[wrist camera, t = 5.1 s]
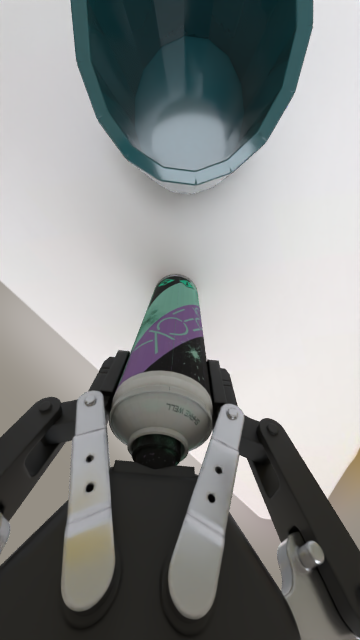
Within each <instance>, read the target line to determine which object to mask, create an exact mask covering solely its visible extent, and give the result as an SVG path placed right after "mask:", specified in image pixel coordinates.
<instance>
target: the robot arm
mask: <svg viewBox="0 0 360 640" xmlns="http://www.w3.org/2000/svg"><path fill="white" fill-rule="evenodd" d="M129 355H130V351H122V350H119V351H118V352H117V354H116V356H115V357H109V358H108V359H107V360H105V361H104V363H103V365H102V367H101V368H100V370H99V373H98V374H97V376H96V378H95V380H94V382H93V383H92V385H91V387H90V389H89V391H88V392H86V393H84V394H82V395H81V396H80V397H79V398H78V399H77V400H74V401H68V402H63V403H61V402H60V400H59V399H57V398H55V397H48V398H44V399H42V400H40V401H38V402H37V403H35V404H34V405H33V406H32V407H31V408H30V409H29V410H28V411H27V412H26V413H25V414H24V415H23V416H22V417H21V418H20V419H19V420H18V421H17V422H16V423H15V424H14V425H13V426H12V427H11V428H10V429H9V430H8V431H7V432H6V433H5V434H3V436H2V437H0V553H1V551H2V549H3V548H4V546H5V544H6V542H7V540H8V538H9V534H10V524H9V520H10V519H11V518H12V516H13V515H14V514H15V512H16V511H17V509H18V508H19V507H20V505H21V504H22V502H23V501H24V500H25V498H26V497H27V495H28V494H29V493H30V491H31V490H32V488H33V487H34V486H35V484H36V483H37V481H38V480H39V479H40V477H41V476H42V475H43V473H44V472H45V470H46V469H47V467H48V466H49V465H50V463H51V462H52V461H53V459H54V458H55V456H56V455H57V454H58V452H59V451H60V449H61V448H62V447H63V445H64V444H65V442H66V441H71V440H72V454H71V468H70V484H69V499H68V501H66V503H64V504H63V506H61V507H60V508H59V509H58V510H57V511H56V512H55V513H54V514H53V515H52V516H51V517H50V518H49V519H48V520H47V521H46V522H45V523H44V524H43V525H42V526H41V527H40V528H39V529H38V530H37V531H36V532H35V533H33V534H32V535H31V537H29V538H28V539H27V540H26V541H25V542H24V543H23V544H22V545H21V546H20V547H19V548H18V549H17V550H16V551H15V552H14V553H13V554H12V555H11V556H10V557H9V558H8V559H7V560H6V561H5V562H4V563H3V564H1V566H0V640H360V551H359V549H358V548H357V546H356V545H355V543H354V541H353V539H352V538H351V536H350V535H349V533H348V531H347V530H346V528H345V527H344V525H343V523H342V522H341V520H340V519H339V517H338V515H337V514H336V512H335V510H334V509H333V507H332V506H331V504H330V502H329V501H328V499H327V498H326V496H325V494H324V493H323V491H322V490H321V488H320V486H319V485H318V483H317V482H316V480H315V478H314V477H313V475H312V474H311V472H310V470H309V469H308V467H307V465H306V464H305V462H304V461H303V459H302V457H301V456H300V454H299V453H298V451H297V449H296V448H295V446H294V445H293V443H292V441H291V440H290V438H289V437H288V435H287V433H286V432H285V430H284V429H283V427H282V426H281V425H280V424H279V423H278V422H276V421H275V420H272V419H269V418H265V419H262V420H261V421H260V422H259V421H256V420H254V419H251V418H249V417H247V416H245V415H244V413H243V412H242V410H241V409H240V408H239V407H238V405H237V402H236V398H235V394H234V390H233V387H232V382H231V378H230V374H229V373H228V372H227V370H226V369H222V368H220V365H219V361H216V360H207V368H208V376H209V383H210V391H211V399H212V406H213V415H212V426H213V428H212V431H213V433H212V436H211V439H210V442H209V445H208V448H207V451H206V454H205V458H204V461H203V464H202V467H201V470H200V473H199V475H196V474H195V472H194V467H187V466H176V465H175V466H170V467H165V468H161V469H151V468H149V467H146V466H144V465H141V464H139V463H137V462H131V461H119V460H115V464H114V467H110V459H109V448H108V435H107V423H108V420H109V415H110V411H111V409H112V401H113V397H114V395H115V392H116V389H117V387H118V384H119V382H120V379H121V376H122V374H123V371H124V369H125V366H126V363H127V361H128V358H129ZM239 455H241V456H243V457H246V458H247V460H248V462H249V465H250V467H251V470H252V472H253V475H254V477H255V480H256V482H257V484H258V487H259V489H260V492H261V494H262V497H263V499H264V502H265V504H266V507H267V509H268V511H269V514H270V516H271V519H272V521H273V524H274V526H275V529H276V531H277V533H278V536H279V538H280V541H281V544H280V545H279V547H278V551H277V559H278V564H279V568H280V571H281V576H282V590H280V589H279V587H278V586H277V584H276V583H275V581H274V580H273V578H272V577H271V575H270V574H269V572H268V571H267V569H266V567H265V566H264V565H263V563H262V561H261V560H260V558H259V557H258V555H257V554H256V552H255V551H254V549H253V548H252V546H251V545H250V543H249V541H248V540H247V539H246V537H245V535H244V534H243V532H242V531H241V529H240V528H239V526H238V525H237V523H236V522H235V520H234V519H233V517H232V515H231V514H230V512H229V509H230V504H231V498H232V493H233V487H234V482H235V476H236V471H237V466H238V460H239Z"/></svg>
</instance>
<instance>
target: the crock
mask: <svg viewBox="0 0 360 640" xmlns="http://www.w3.org/2000/svg"><path fill="white" fill-rule="evenodd" d="M71 11H72V21H73V32H74V42H75V53H76V61H77V65H78V68H79V71H80V74H81V76H82V79H83V82H84V85H85V87H86V90H87V93H88V96H89V99H90V101H91V104H92V107H93V110H94V112H95V115H96V118H97V119H98V121H99V123H100V125H101V126H102V127H103V129H104V130H105V131H106V133H107V134H108V135H109V137H110V138H111V139H112V141H113V142H114V144H115V145H116V146H117V148H118V149H119V150H120V152H121V153H122V154H123V156H124V157H125V158H126V159H127V160H128V161H129V162H130V163H131V164H133V165H134V166H135V167H137V168H138V169H139V170H140V171H142V172H143V173H144V174H145V175H147V176H148V177H149V178H151V179H152V180H153V181H155V182H156V183H158V184H160V185H161V186H162V187H164V188H166V189H167V190H169V191H171V192H176V193H181V194H195V193H198V192H202V191H204V190H207V189H210V188H212V187H214V186H216V185H217V184H218V183H220V182H221V181H222V180H224V179H225V178H226V177H228V176H229V175H230V174H232V173H233V172H234V171H235V170H236V169H237V168H239V167H240V166H241V165H242V164H243V163H244V162H245V161H246V160H248V159H249V158H250V157H251V156H252V155H253V154H254V153H255V152H256V151H258V150H259V149H260V148H261V147H262V146H263V145H264V144H265V143H266V142H267V140H268V139H269V137H270V135H271V133H272V132H273V130H274V128H275V126H276V125H277V123H278V121H279V120H280V118H281V116H282V114H283V113H284V111H285V109H286V108H287V106H288V104H289V102H290V101H291V99H292V97H293V95H294V93H295V91H296V87H297V83H298V80H299V76H300V72H301V69H302V65H303V61H304V57H305V54H306V50H307V46H308V43H309V39H310V35H311V32H312V28H313V26H312V25H313V0H71Z"/></svg>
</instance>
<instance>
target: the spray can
mask: <svg viewBox="0 0 360 640" xmlns="http://www.w3.org/2000/svg"><path fill="white" fill-rule="evenodd" d="M212 415H213V406H212V399H211V391H210V383H209V376H208V368H207V361H206V353H205V345H204V338H203V330H202V323H201V315H200V307H199V300H198V293H197V289H196V287H195V285H194V283H193V282H192V281H191V280H190V279H189V278H187V277H185V276H182V275H177V274H174V275H169V276H166V277H164V278H163V279H162V280H160V281H159V283H158V284H157V286H156V288H155V290H154V293H153V295H152V298H151V301H150V303H149V306H148V308H147V311H146V314H145V316H144V319H143V322H142V324H141V327H140V329H139V332H138V335H137V337H136V340H135V342H134V345H133V348H132V350H131V353H130V355H129V358H128V361H127V363H126V366H125V369H124V371H123V374H122V376H121V379H120V382H119V384H118V387H117V389H116V392H115V395H114V397H113V401H112V409H111V411H110V415H109V425H110V428H111V430H112V432H113V433H114V435H115V436H116V437H117V438H118V439H119V440H120V441H121V442H123V443H124V444H126V445H127V446H128V451H129V453H130V454H131V455H132V458H133V460H134V462H137V463H139V464H141V465H144V466H146V467H149V468H151V469H161V468H165V467H170V466H175V465H176V466H177V464H178V463H179V462H180V461H182V460H183V459H184V458H185V457H186V456H187V454H188V452H189V451H191V450H193V449H196V448H197V447H199V446H200V445H202V444H203V443H204V442H205V441H206V440H207V439H208V438H209V436H210V434H211V432H212V428H213V426H212Z"/></svg>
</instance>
